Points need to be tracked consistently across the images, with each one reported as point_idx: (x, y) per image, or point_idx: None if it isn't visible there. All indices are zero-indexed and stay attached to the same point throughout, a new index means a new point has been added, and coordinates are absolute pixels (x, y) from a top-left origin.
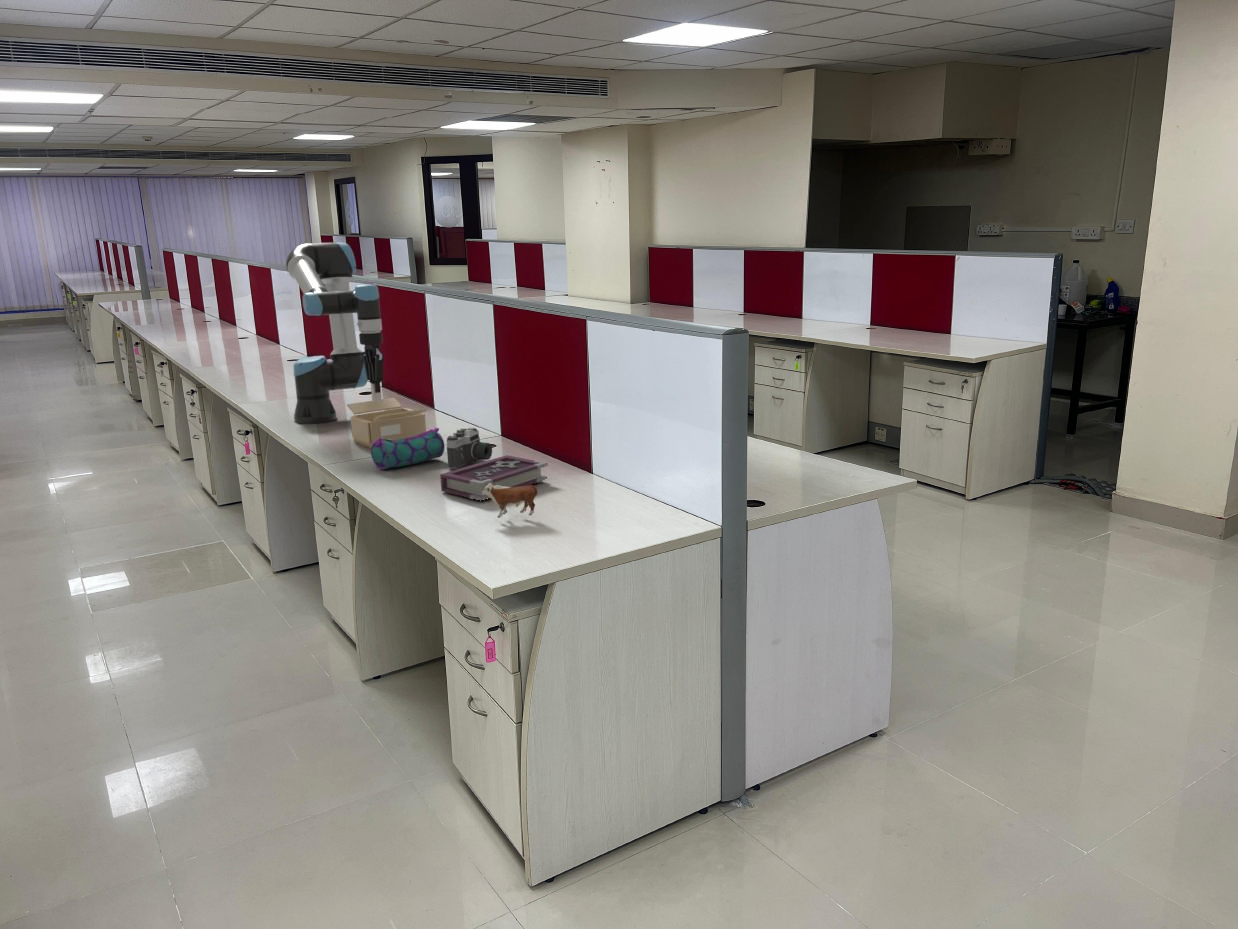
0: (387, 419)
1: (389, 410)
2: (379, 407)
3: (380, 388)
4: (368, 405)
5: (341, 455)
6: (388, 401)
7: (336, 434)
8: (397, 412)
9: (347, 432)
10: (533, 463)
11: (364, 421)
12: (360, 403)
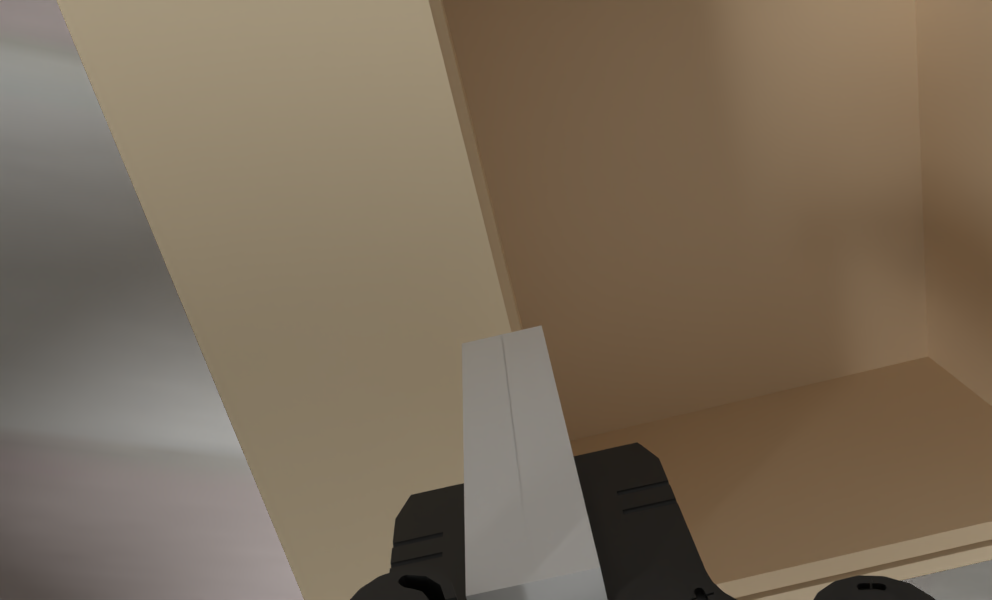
0: (481, 164)
1: (474, 148)
2: (451, 312)
3: (574, 466)
4: (392, 475)
5: (940, 585)
6: (237, 132)
7: (121, 541)
8: (441, 3)
9: (66, 450)
10: None
11: (987, 552)
12: (335, 591)
